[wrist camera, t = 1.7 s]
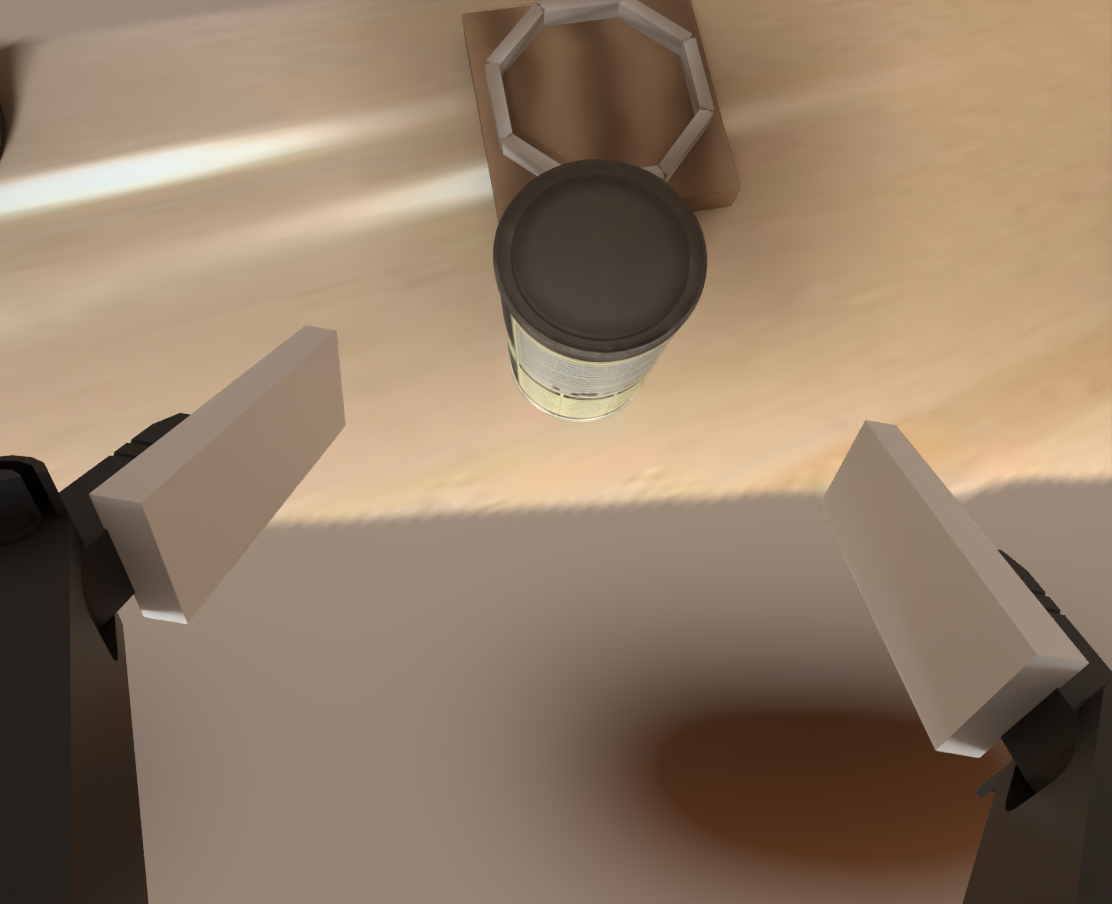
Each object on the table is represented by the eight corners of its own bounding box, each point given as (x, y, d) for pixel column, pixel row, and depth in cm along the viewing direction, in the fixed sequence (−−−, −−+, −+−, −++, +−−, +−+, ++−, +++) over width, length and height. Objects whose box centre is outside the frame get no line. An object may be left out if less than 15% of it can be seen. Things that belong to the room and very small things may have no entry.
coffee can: (482, 330, 40) (453, 215, 26) (602, 266, 41) (635, 124, 27) (553, 450, 39) (563, 395, 25) (675, 381, 40) (749, 292, 26)
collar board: (501, 239, 41) (498, 214, 38) (464, 38, 44) (459, -2, 41) (730, 205, 42) (746, 178, 39) (680, 11, 45) (690, -29, 42)
